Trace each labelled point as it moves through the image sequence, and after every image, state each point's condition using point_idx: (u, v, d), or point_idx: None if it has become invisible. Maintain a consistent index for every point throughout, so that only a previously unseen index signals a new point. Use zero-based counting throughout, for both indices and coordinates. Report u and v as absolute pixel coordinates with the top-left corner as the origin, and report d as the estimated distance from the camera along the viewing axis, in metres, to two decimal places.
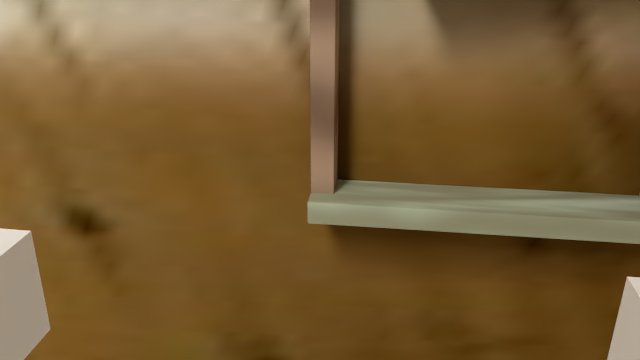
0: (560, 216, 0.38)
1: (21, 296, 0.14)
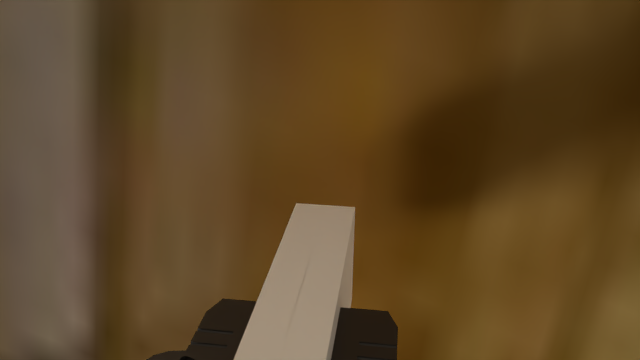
0: None
1: None
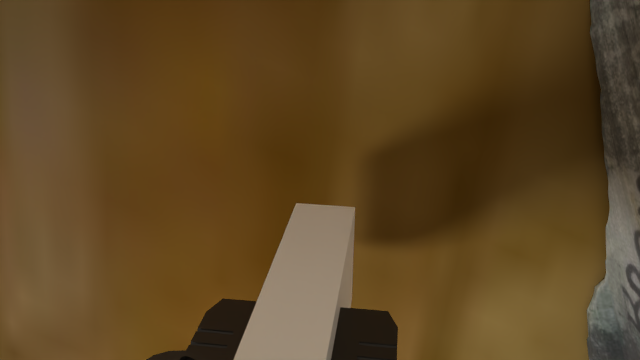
0: None
1: None
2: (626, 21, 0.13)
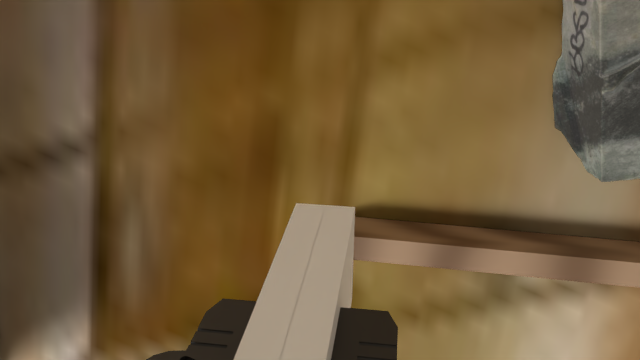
0: None
1: None
2: None
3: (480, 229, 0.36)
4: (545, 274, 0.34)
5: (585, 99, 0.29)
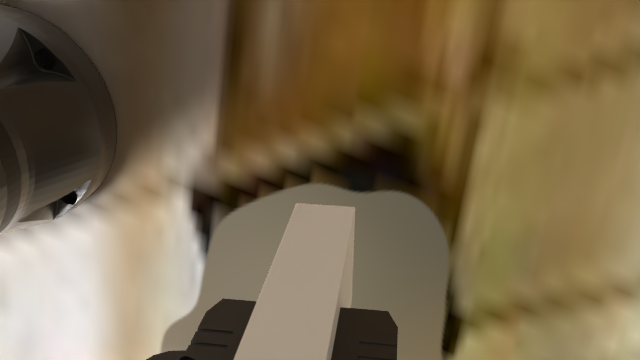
0: None
1: None
2: None
3: None
4: None
5: None
